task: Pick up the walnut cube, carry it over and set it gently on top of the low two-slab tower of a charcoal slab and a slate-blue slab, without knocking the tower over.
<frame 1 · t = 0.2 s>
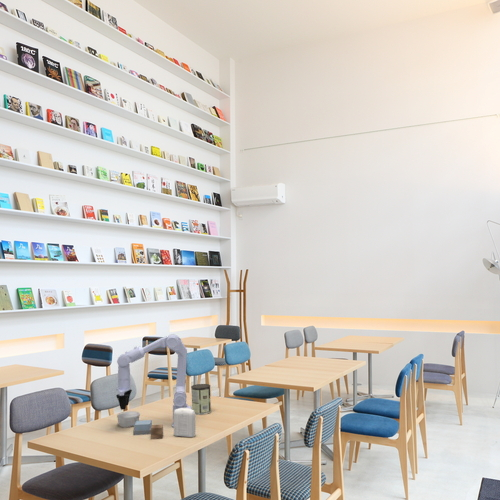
hand: (124, 407, 232), 10 cm above the table, tool pointing down, fingers open, 7 cm apart
ramekin: (128, 425, 238), on the table
tower top: (143, 427, 225), point 2 cm above the table, touching tower base
coffee can: (201, 412, 257), on the table
walnut cube: (157, 437, 216), on the table
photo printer: (184, 436, 217), on the table
tower base: (143, 433, 224), on the table, touching tower top
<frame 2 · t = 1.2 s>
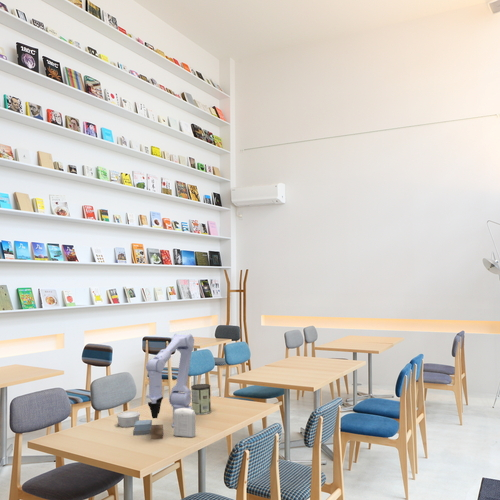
hand: (155, 415, 217), 9 cm above the table, tool pointing down, fingers open, 7 cm apart
tower top: (143, 427, 225), point 2 cm above the table
tower base: (143, 433, 224), on the table
everything else where it was.
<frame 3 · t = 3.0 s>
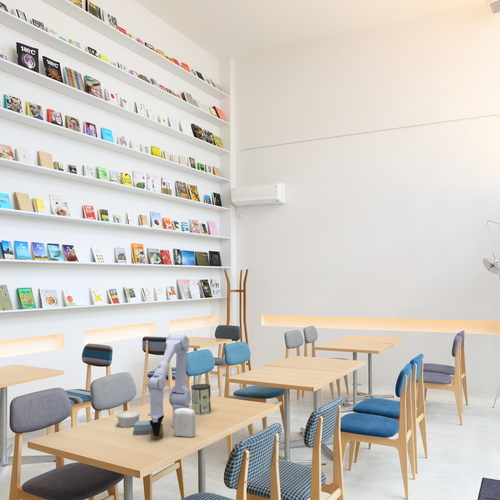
hand: (157, 434, 216), 1 cm above the table, tool pointing down, fingers closed on walnut cube, 5 cm apart
tower top: (143, 428, 224), point 2 cm above the table, touching tower base
walnut cube: (157, 437, 216), on the table, touching gripper
tower base: (143, 433, 224), on the table, touching tower top
everything else where it was.
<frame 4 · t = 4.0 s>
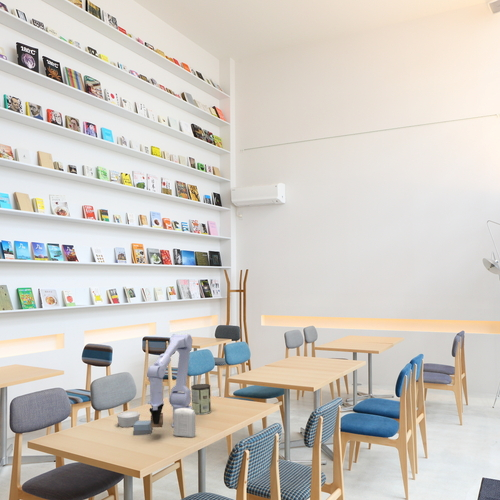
hand: (157, 422, 217), 7 cm above the table, tool pointing down, fingers closed on walnut cube, 5 cm apart
tower top: (142, 428, 224), point 2 cm above the table
walnut cube: (157, 425, 217), point 5 cm above the table, touching gripper
tower base: (143, 433, 224), on the table
everything else where it was.
when the fingers open (7 cm above the table, at t = 6.7 s): walnut cube drops 1 cm, resting on tower top.
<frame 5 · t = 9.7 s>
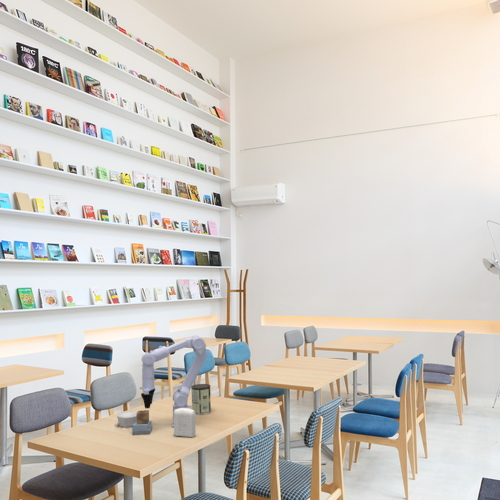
hand: (148, 406, 231), 10 cm above the table, tool pointing down, fingers open, 7 cm apart
tower top: (142, 428, 225), point 2 cm above the table, touching tower base, walnut cube
walnut cube: (142, 422, 225), point 4 cm above the table, touching tower top
tower base: (142, 433, 224), on the table, touching tower top
everything else where it was.
at the end: walnut cube 0.5 cm off-centre on the tower top, point 2.5 cm above the tower top's base; tower top tilted 0°; tower base moved 0.7 cm from its start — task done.
